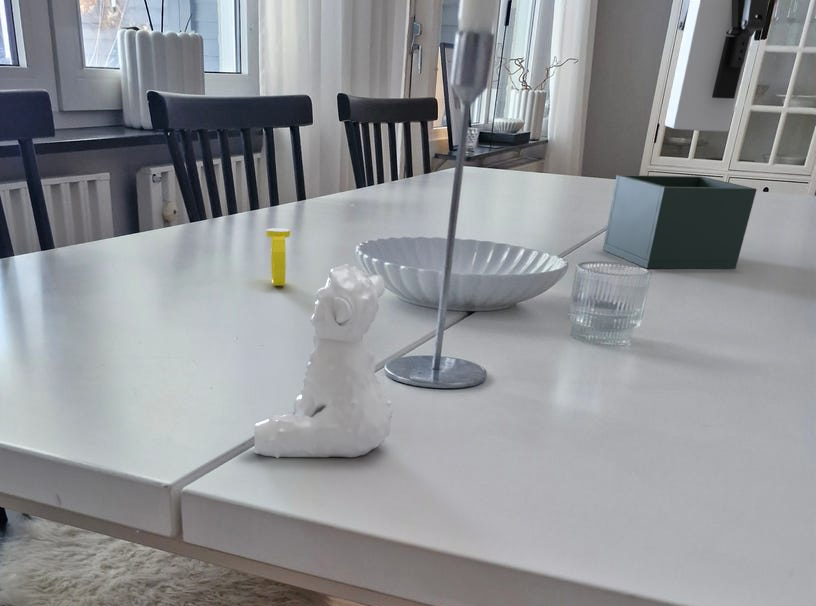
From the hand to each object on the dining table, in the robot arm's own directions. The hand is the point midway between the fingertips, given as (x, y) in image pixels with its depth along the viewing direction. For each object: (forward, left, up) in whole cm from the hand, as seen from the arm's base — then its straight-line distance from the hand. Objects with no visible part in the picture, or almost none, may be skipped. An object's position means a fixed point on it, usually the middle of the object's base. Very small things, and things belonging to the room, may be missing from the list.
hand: (703, 96), depth 118 cm
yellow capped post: (-15, +59, -20) cm, 64 cm away
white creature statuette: (-66, +63, -20) cm, 94 cm away
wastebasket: (0, 0, -20) cm, 20 cm away
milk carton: (0, 0, -4) cm, 4 cm away
